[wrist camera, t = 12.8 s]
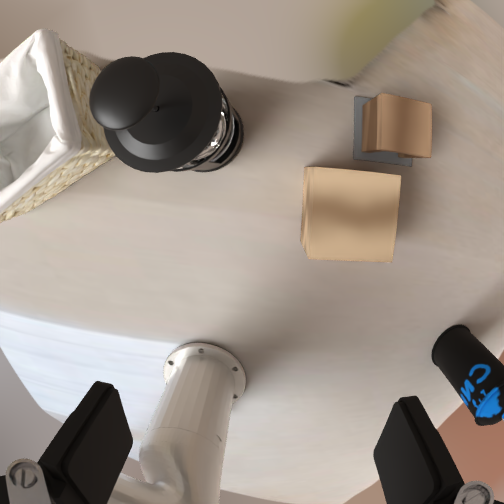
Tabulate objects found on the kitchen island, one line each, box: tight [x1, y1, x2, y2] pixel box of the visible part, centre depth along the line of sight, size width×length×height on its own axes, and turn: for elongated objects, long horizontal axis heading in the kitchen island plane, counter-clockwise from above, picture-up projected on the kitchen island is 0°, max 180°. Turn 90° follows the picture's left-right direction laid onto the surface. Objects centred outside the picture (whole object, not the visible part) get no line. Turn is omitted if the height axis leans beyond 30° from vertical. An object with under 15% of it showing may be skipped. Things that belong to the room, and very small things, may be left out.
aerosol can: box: [432, 325, 504, 426], centre depth 32 cm, size 8×8×20 cm
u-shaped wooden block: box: [361, 93, 432, 158], centre depth 30 cm, size 6×6×7 cm
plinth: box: [300, 167, 401, 262], centre depth 33 cm, size 9×9×8 cm
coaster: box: [353, 96, 412, 167], centre depth 34 cm, size 8×8×1 cm
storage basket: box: [0, 29, 115, 223], centre depth 29 cm, size 24×16×15 cm
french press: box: [89, 52, 244, 173], centre depth 24 cm, size 12×9×23 cm
